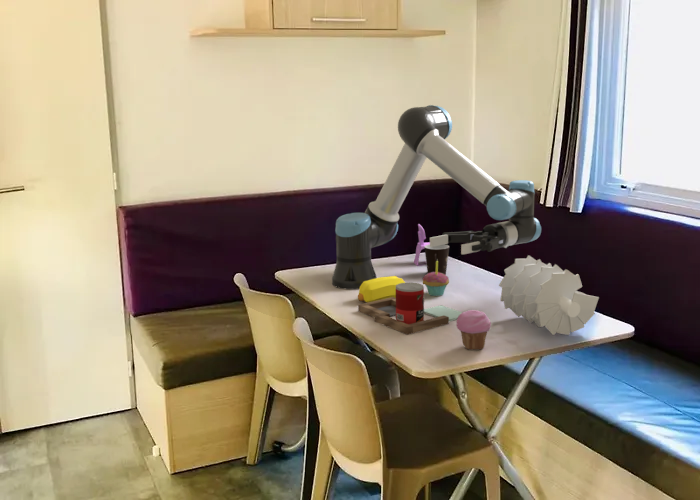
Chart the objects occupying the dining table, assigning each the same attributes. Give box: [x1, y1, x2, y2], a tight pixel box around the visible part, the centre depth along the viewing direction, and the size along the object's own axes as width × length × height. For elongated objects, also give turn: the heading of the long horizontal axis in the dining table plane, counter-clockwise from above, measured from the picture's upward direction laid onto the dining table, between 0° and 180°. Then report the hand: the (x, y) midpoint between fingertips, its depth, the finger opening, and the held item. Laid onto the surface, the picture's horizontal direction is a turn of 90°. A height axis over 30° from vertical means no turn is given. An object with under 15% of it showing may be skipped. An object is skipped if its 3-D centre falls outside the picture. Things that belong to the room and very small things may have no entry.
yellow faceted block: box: [357, 275, 406, 303], centre depth 246 cm, size 18×7×8 cm
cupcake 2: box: [455, 309, 492, 351], centre depth 200 cm, size 9×9×10 cm
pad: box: [424, 304, 464, 322], centre depth 229 cm, size 12×8×1 cm, turn 34°
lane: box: [357, 297, 450, 336], centre depth 227 cm, size 26×15×2 cm, turn 34°
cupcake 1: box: [422, 259, 450, 297], centre depth 249 cm, size 9×8×12 cm
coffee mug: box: [424, 244, 450, 276], centre depth 272 cm, size 12×9×10 cm
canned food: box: [395, 282, 425, 324], centre depth 221 cm, size 8×8×11 cm
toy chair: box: [413, 223, 430, 267], centre depth 288 cm, size 8×9×15 cm
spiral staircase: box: [498, 254, 600, 336], centre depth 215 cm, size 18×18×25 cm
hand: (445, 245), depth 225 cm, fingers open, 13 cm apart
